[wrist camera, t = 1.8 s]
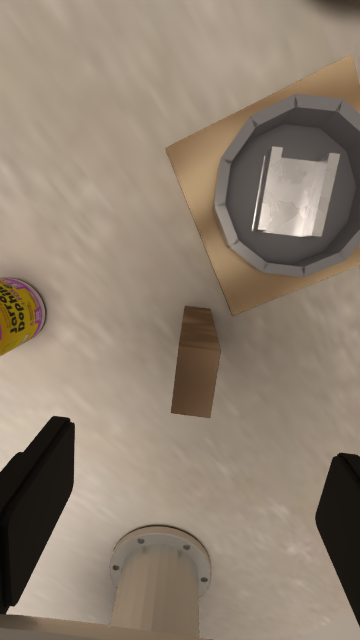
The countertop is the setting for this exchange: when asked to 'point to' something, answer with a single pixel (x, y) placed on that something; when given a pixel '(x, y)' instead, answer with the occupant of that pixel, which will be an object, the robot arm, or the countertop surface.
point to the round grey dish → (303, 144)
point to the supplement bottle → (18, 313)
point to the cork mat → (200, 178)
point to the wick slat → (196, 364)
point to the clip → (294, 194)
